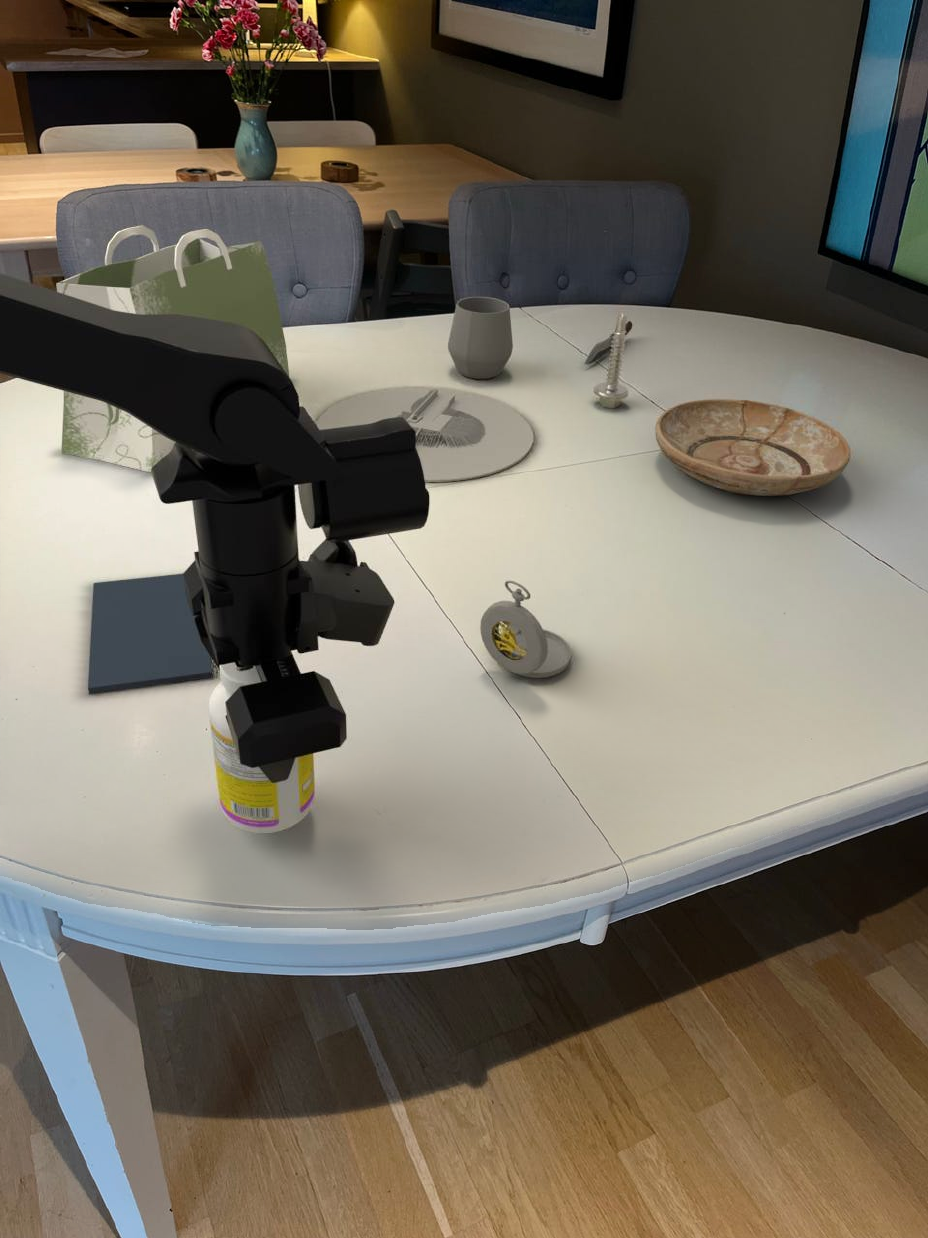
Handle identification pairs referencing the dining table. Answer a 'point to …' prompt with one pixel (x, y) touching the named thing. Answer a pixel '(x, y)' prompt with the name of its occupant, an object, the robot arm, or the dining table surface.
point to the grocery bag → (167, 285)
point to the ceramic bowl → (751, 446)
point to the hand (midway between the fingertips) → (267, 745)
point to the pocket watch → (522, 639)
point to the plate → (444, 429)
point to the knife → (604, 346)
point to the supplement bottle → (254, 771)
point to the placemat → (144, 635)
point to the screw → (614, 368)
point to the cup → (481, 337)
